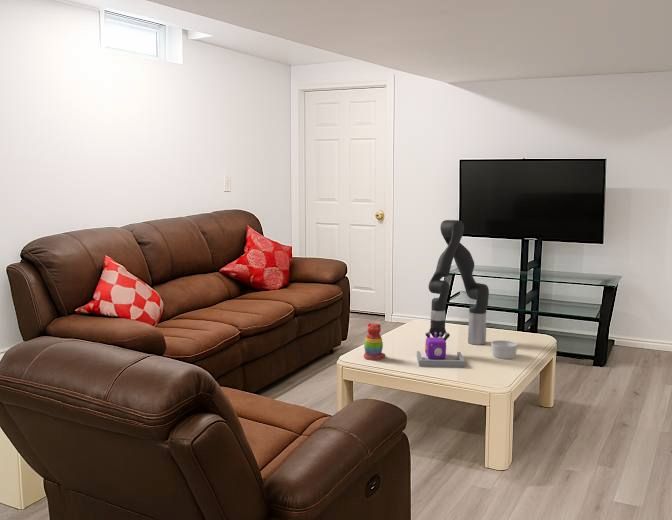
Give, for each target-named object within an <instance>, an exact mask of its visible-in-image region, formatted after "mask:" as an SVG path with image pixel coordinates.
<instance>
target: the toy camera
mask: <svg viewBox="0 0 672 520" xmlns="http://www.w3.org/2000/svg"><path fill="white" fill-rule="evenodd" d="M443 338H444V337H433V336H430V337H429V338H427V337H426V338H425V343H424V352H425V355H426V357H427V358H428V360H445V359H446V357H447V342H446V341H445V340H444V339H443Z"/></svg>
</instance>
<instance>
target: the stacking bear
mask: <svg viewBox="0 0 672 520" xmlns="http://www.w3.org/2000/svg"><path fill="white" fill-rule="evenodd" d="M381 327H382V326H381V324H380V323H375V322H373V323H367V333H368V334H367V335H366V337H365V338H364V339H365V340H364V345H363V346H364V347H363V348H364V354H363V358H364V359H365V360H368V361H380V360H383V359H384V358H386V356H387V355H386V354H385V352H383V349H384V347H383V346H384V342H383V338H382V335H381V329H382V328H381Z"/></svg>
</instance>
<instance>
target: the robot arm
mask: <svg viewBox="0 0 672 520" xmlns="http://www.w3.org/2000/svg"><path fill="white" fill-rule="evenodd" d="M464 231H465V226H464V223H463V221H461V220H458V219H446V220H445V219H444V220H443V221H442V222H440V233H441V236H442V237H443V239H444V240H445V243H446V245H447V246H446V247H445V249H444V250H443V252H442V253H441V254H440V256H439V258H438V261H437V264H436V269H435V270H434V273H433V275H432V277H431V279H430V280H429V283H428V291H429V292H430V293H432V294H435V295H436V294H437V295H439V296H438V297H434V298H432V299H431V309H430V327H429V330H428V332H425V337H426V338H429V337H442V338H443V339H444V340H445V342H446V341H447V340H448V338H450V333H449V332H447V330H446V318H447V317H446V302H447V297H448V294H449V292H450V284H449V282H448V281H447V280H442V278H447V277H449V275H450V272H451V269H452V263H453V261H454V262H455V265H456V267H457V269H458V271H459V274H460V278H461V279H462V283H463V286H464V289H465V290H464V291H465V293H466V296H467V297H468V298H469V299H471V300H476V303H475V304H474V305H470V306H469V308H468V329H467V330H468V333H467V343H468V344H471V345H480V346H481V345H486V344H487V341H486V340H487V325H486V324H487V318H486V317H487V310H488V306H489V296H490V289H489V286H488V285H487V284H485V283H480V282H476V281H475V278H474V276H473V272H474V269H475V260H474V259H473V256H472V254H471V252H470V251H469V250H468V248H466V246H464V245H463V244H462V243H461V240H462V238H463V236H464Z"/></svg>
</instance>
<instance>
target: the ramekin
mask: <svg viewBox="0 0 672 520" xmlns="http://www.w3.org/2000/svg"><path fill="white" fill-rule="evenodd" d="M490 344H491V354H492V356H493V357H494V358H497V359H503V360H511V359H510V358H512V359H514V358H515V357H516V356H517V350H518V347H519V346H518V342H515V341H511V340H505V339H504V340H502V339H501V340H500V339H499V340H497V339H496V340H492V341H491V343H490Z"/></svg>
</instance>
